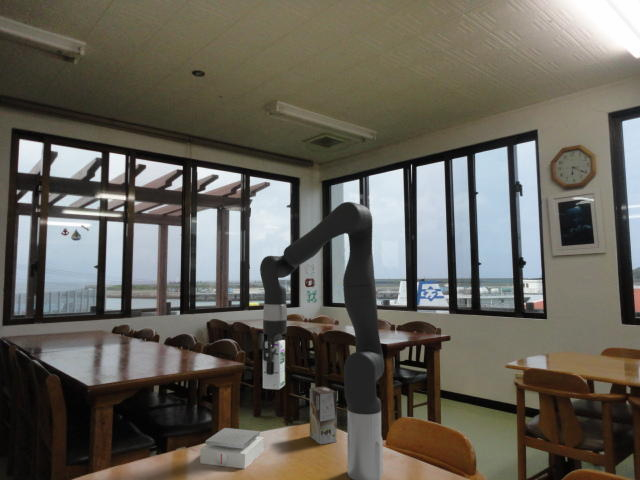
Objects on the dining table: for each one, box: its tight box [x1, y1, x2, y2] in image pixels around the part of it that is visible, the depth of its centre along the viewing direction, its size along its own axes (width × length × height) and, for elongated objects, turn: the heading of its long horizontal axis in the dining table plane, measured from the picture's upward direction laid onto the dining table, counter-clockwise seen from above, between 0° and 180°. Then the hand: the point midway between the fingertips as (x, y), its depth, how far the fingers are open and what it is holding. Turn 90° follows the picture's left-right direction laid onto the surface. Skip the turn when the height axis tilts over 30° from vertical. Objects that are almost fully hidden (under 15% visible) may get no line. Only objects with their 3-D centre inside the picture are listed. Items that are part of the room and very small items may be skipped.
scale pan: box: [205, 427, 261, 448], centre depth 135 cm, size 12×12×1 cm
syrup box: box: [262, 339, 286, 390], centre depth 142 cm, size 6×6×14 cm
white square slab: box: [199, 436, 265, 470], centre depth 134 cm, size 14×15×4 cm
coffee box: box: [309, 386, 338, 445], centre depth 151 cm, size 9×6×16 cm
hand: (274, 372), depth 142 cm, fingers closed on syrup box, 6 cm apart
